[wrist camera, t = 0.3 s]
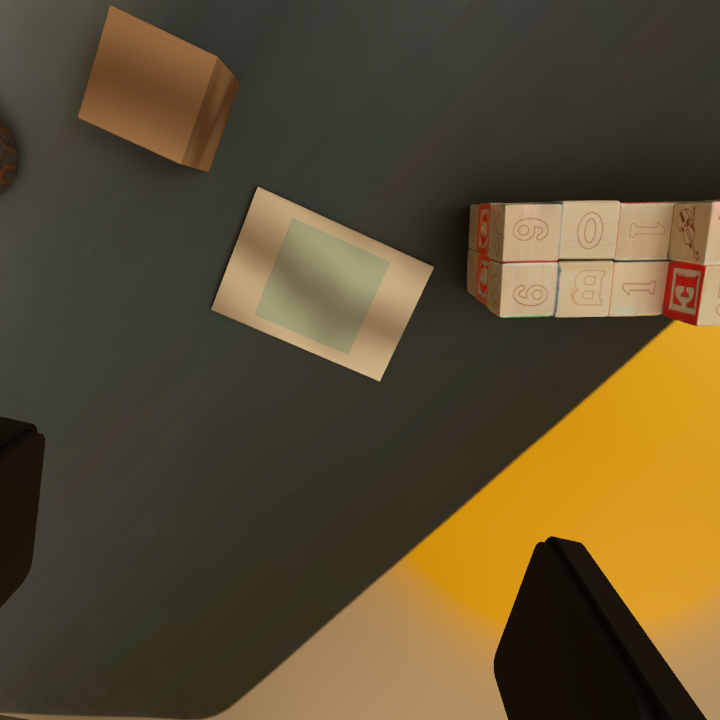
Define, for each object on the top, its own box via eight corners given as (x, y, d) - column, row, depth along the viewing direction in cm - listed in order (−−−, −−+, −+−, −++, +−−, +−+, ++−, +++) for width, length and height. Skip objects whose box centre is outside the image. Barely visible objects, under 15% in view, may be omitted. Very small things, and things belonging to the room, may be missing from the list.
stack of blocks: (464, 294, 39) (512, 329, 27) (468, 202, 37) (521, 197, 25) (761, 292, 39) (940, 326, 27) (778, 201, 37) (977, 195, 25)
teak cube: (151, 40, 34) (110, 5, 28) (240, 82, 35) (217, 56, 29) (123, 133, 36) (77, 117, 30) (208, 172, 36) (180, 164, 31)
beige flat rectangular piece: (259, 187, 37) (257, 186, 36) (432, 266, 38) (434, 267, 37) (214, 307, 39) (211, 309, 38) (379, 378, 40) (379, 381, 39)
